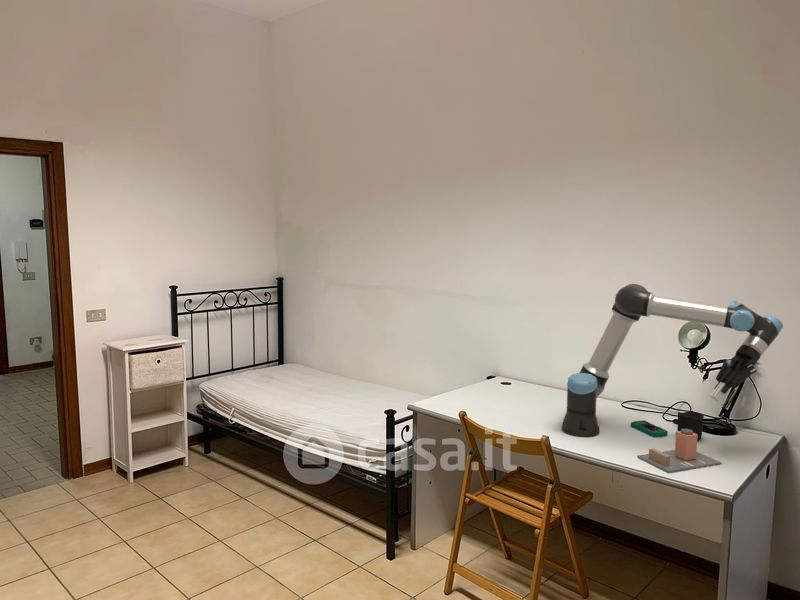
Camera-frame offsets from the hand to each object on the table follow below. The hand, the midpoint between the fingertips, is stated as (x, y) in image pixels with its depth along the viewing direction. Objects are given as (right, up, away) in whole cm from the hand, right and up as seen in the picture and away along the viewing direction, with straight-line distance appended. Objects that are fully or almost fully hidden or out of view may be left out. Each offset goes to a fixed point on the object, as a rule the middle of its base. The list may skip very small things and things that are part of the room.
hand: (714, 398), depth 213 cm
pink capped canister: (-11, -21, -2) cm, 24 cm away
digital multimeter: (-11, -20, +30) cm, 37 cm away
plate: (-14, -22, -3) cm, 27 cm away
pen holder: (+2, -20, +22) cm, 30 cm away
